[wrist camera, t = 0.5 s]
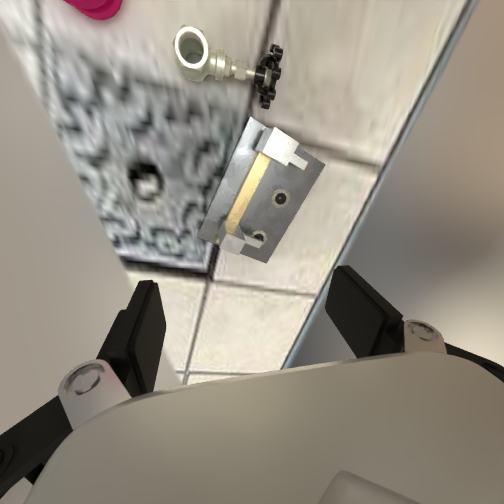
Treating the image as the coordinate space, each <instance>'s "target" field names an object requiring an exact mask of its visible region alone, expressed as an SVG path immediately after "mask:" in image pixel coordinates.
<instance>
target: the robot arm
mask: <svg viewBox="0 0 504 504" xmlns="http://www.w3.org/2000/svg"><path fill="white" fill-rule="evenodd" d="M325 309H326V312H327V314H328V315H329V317H330V318H331V320H332V321H333V323H334V324H335V326H336V327H337V329H338V330H339V331H340V333H341V335H342V336H343V338H344V339H345V341H346V342H347V344H348V345H349V347H350V348H351V350H352V351H353V353H354V354H355V356H356V357H357V358H356V359H349V360H342V361H336V362H329V363H323V364H316V365H309V366H303V367H296V368H290V369H283V370H277V371H270V372H264V373H257V374H251V375H245V376H239V377H232V378H226V379H220V380H214V381H207V382H202V383H196V384H190V385H185V386H179V387H174V388H168V389H164V390H159V391H155V392H153V389H154V385H155V380H156V375H157V370H158V366H159V361H160V356H161V351H162V347H163V342H164V337H165V332H166V321H165V316H164V311H163V306H162V301H161V297H160V292H159V287H158V283H157V282H156V283H154V282H153V280H143V281H139V283H138V285H137V287H136V289H135V291H134V293H133V296H132V298H131V300H130V302H129V304H128V307H127V309H126V310H121V311H120V312H119V313H118V315H117V317H116V319H115V321H114V323H113V325H112V327H111V329H110V331H109V333H108V335H107V337H106V339H105V341H104V343H103V345H102V348H101V349H100V352H99V354H98V356H97V358H96V360H90V361H87V362H84V363H82V364H80V365H78V366H77V367H75V368H74V369H73V370H71V371H70V372H69V373H68V374H67V375H66V376H65V377H64V378H63V380H62V381H61V383H60V385H59V388H58V396H56V397H55V398H53V399H52V400H50V401H49V402H48V403H46V404H45V405H43V406H42V407H40V408H39V409H37V410H36V411H35V412H33V413H32V414H30V415H29V416H27V417H26V418H24V419H23V420H22V421H20V422H19V423H17V424H16V425H14V426H13V427H12V428H10V429H9V430H7V431H6V432H4V433H3V434H1V435H0V504H504V367H503V366H501V365H499V364H497V363H495V362H493V361H491V360H488V359H486V358H483V357H481V356H478V355H475V354H473V353H470V352H468V351H465V350H463V349H460V348H457V347H455V346H452V345H450V344H447V343H445V342H444V339H443V337H442V335H441V333H440V332H439V331H438V330H437V329H435V328H434V327H433V326H431V325H429V324H427V323H425V322H422V321H419V320H412V319H411V320H407V321H406V322H404V321H403V320H402V317H403V315H402V314H401V313H400V312H399V311H397V310H396V309H395V308H394V307H393V306H392V305H391V304H390V303H389V302H388V301H387V300H386V299H385V298H383V297H382V296H381V295H380V294H379V293H378V292H377V291H376V290H375V289H374V288H373V287H371V285H370V284H368V283H367V282H366V281H365V280H364V279H363V278H362V277H361V276H360V275H359V274H358V273H357V272H356V271H354V270H353V269H352V268H351V267H350V266H348V265H346V266H337V268H336V269H334V271H333V275H332V279H331V284H330V288H329V292H328V296H327V300H326V305H325Z"/></svg>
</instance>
